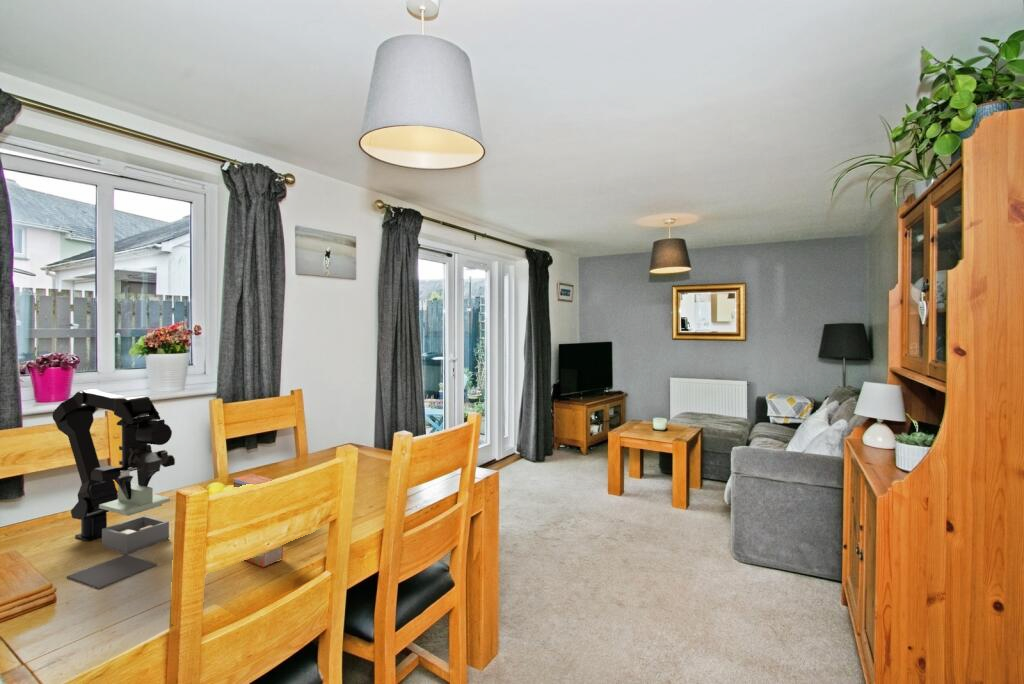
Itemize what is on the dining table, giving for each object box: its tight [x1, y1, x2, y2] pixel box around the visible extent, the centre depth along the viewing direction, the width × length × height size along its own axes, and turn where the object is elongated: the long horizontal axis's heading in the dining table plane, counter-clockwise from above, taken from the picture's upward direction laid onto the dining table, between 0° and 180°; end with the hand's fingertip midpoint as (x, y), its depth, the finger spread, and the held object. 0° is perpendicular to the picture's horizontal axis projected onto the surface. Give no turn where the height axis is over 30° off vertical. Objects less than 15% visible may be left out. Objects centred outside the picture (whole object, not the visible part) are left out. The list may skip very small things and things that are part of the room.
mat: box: [66, 554, 158, 590], centre depth 125 cm, size 13×13×1 cm
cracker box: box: [233, 473, 284, 568], centre depth 134 cm, size 14×6×21 cm, turn 58°
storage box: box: [101, 514, 170, 555], centre depth 141 cm, size 11×11×5 cm
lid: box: [99, 482, 171, 517], centre depth 140 cm, size 12×12×6 cm
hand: (135, 497), depth 140 cm, fingers closed on lid, 3 cm apart
